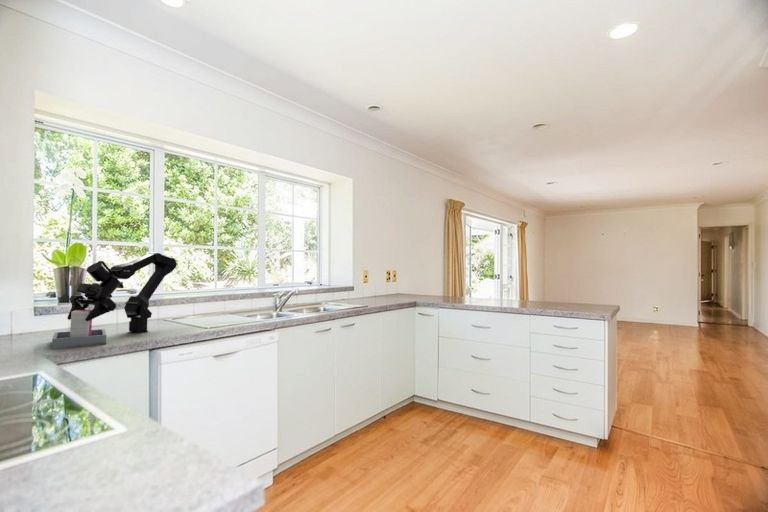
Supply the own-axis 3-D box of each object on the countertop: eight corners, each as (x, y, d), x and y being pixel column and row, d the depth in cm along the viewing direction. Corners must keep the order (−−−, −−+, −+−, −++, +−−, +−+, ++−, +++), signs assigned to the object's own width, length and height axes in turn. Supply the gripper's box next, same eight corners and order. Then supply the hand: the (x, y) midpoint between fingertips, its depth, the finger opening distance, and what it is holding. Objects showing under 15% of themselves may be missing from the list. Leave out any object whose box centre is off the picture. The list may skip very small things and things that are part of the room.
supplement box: (88, 341, 153) (89, 311, 153) (68, 342, 150) (69, 311, 150) (91, 338, 158) (92, 309, 158) (73, 339, 155) (74, 309, 156)
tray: (104, 337, 165) (104, 328, 165) (106, 344, 152) (106, 335, 152) (54, 341, 155) (54, 332, 155) (51, 349, 143) (52, 339, 143)
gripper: (74, 275, 160) (43, 305, 150) (110, 276, 155) (81, 307, 145) (92, 293, 168) (64, 323, 157) (127, 295, 163) (101, 326, 152)
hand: (77, 319), depth 153 cm, fingers open, 9 cm apart
